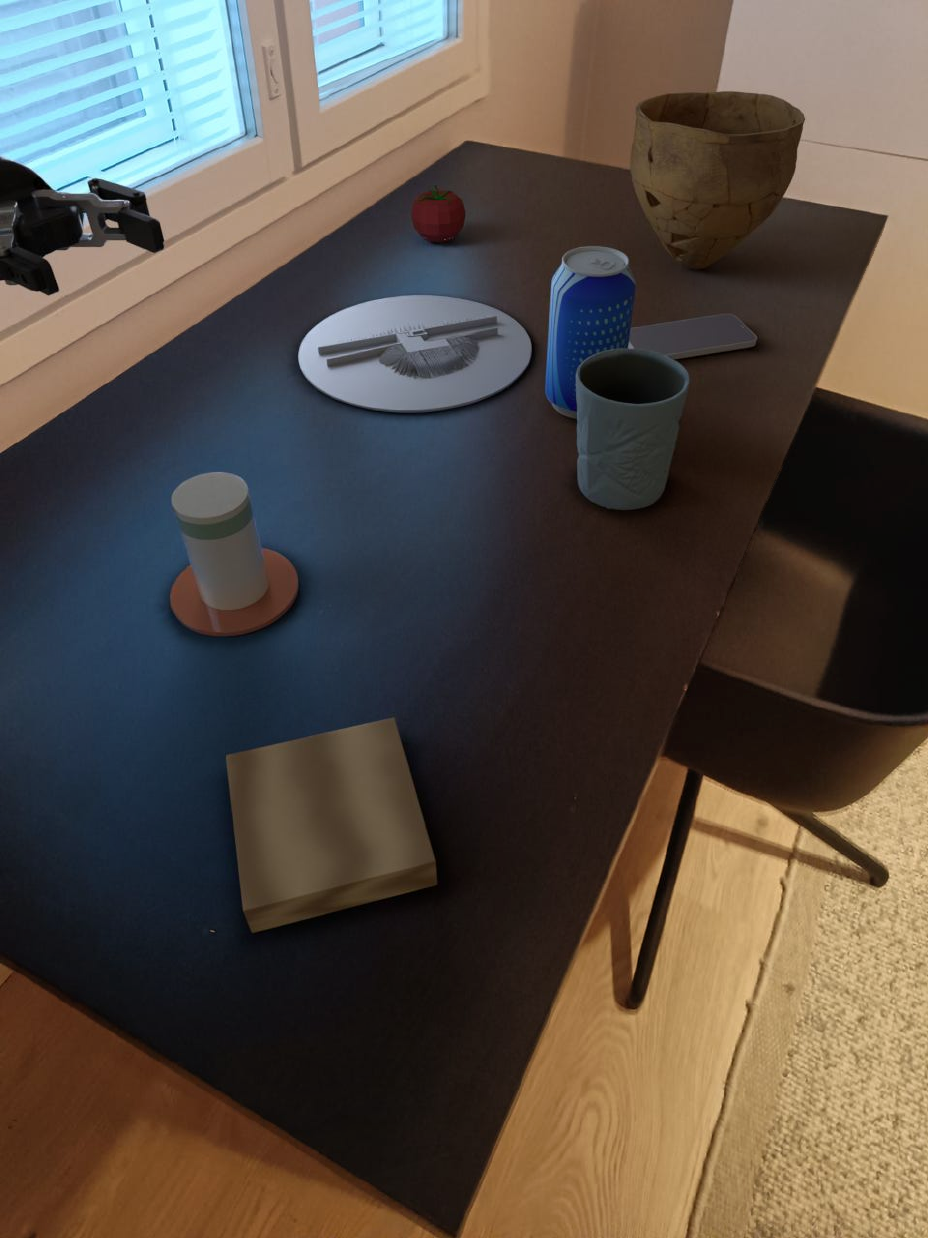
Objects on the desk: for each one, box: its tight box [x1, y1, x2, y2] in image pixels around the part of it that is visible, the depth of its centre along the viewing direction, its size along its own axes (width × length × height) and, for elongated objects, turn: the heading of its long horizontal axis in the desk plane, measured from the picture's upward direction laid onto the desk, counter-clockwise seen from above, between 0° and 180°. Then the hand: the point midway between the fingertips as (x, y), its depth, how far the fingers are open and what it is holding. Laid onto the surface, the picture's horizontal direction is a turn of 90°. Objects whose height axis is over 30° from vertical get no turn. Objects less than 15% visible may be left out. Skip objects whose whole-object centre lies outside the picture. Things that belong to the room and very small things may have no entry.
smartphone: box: [628, 313, 758, 360], centre depth 108 cm, size 7×1×15 cm
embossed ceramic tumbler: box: [576, 348, 691, 511], centre depth 84 cm, size 10×10×12 cm
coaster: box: [169, 547, 300, 637], centre depth 78 cm, size 11×11×1 cm
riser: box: [225, 717, 438, 934], centre depth 60 cm, size 12×12×3 cm
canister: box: [170, 471, 269, 610], centre depth 74 cm, size 6×6×10 cm
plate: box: [297, 294, 532, 413], centre depth 108 cm, size 28×28×1 cm
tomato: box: [410, 184, 467, 243], centre depth 128 cm, size 8×8×8 cm
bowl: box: [629, 90, 806, 271], centre depth 116 cm, size 21×20×20 cm
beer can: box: [544, 245, 637, 420], centre depth 93 cm, size 8×8×16 cm
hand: (106, 257), depth 61 cm, fingers open, 8 cm apart
